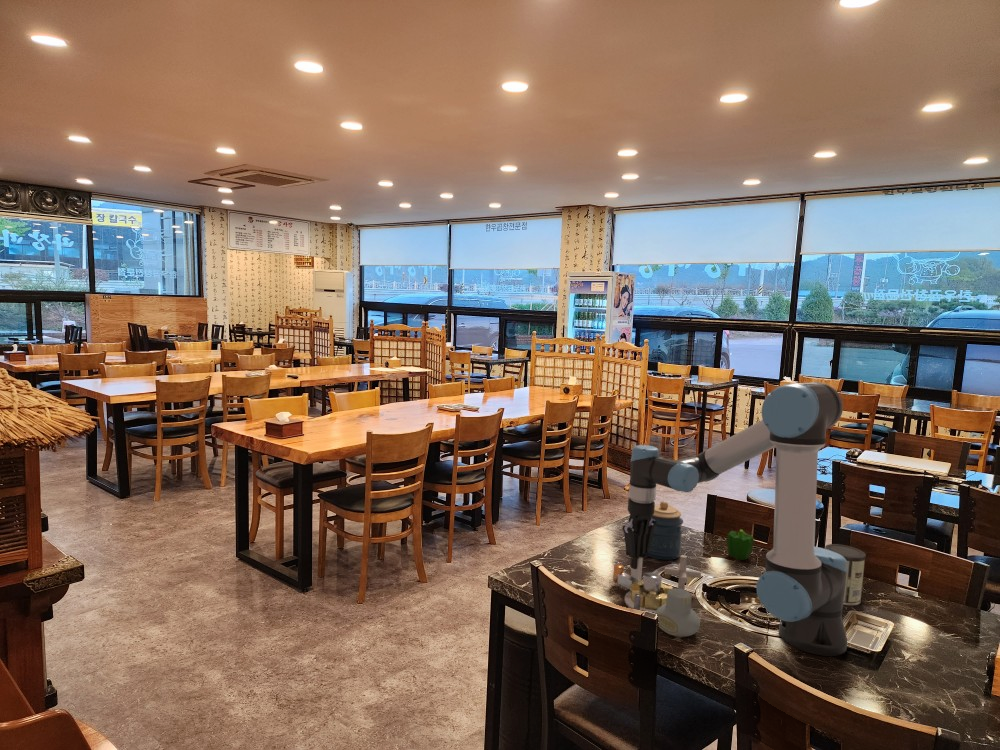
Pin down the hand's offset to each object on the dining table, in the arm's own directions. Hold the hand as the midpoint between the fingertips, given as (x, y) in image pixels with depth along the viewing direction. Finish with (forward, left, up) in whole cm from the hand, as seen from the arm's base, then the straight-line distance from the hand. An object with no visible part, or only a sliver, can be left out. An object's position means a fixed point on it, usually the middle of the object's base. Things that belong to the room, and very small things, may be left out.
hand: (635, 578), depth 178 cm
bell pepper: (-1, -48, -3) cm, 48 cm away
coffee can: (-34, -49, -3) cm, 59 cm away
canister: (+14, -27, -3) cm, 30 cm away
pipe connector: (-8, -11, -3) cm, 13 cm away
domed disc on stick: (-6, +4, -1) cm, 7 cm away
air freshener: (-23, +9, -3) cm, 25 cm away
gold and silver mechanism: (-10, +8, -3) cm, 13 cm away
